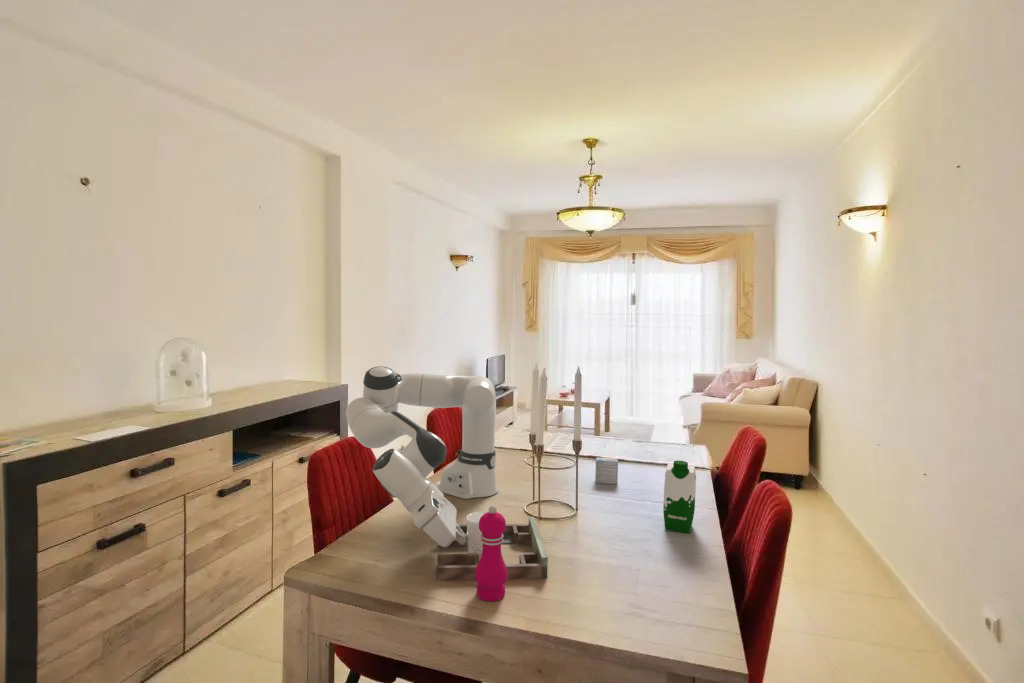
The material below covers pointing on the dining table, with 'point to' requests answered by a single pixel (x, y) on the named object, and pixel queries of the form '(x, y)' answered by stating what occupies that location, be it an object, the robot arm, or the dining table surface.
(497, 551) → the pepper mill
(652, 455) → the dining table surface
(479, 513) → the white cup
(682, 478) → the milk carton
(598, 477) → the medicine box
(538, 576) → the organizer tray
